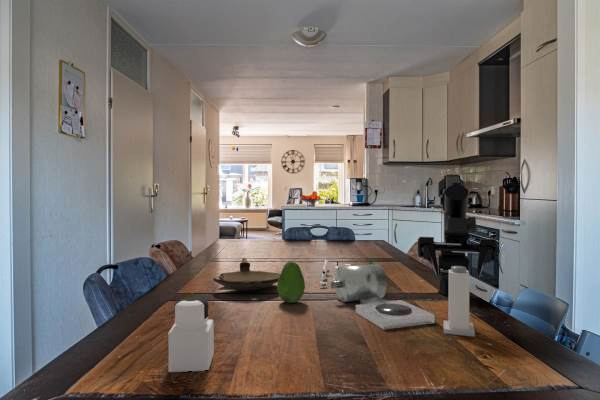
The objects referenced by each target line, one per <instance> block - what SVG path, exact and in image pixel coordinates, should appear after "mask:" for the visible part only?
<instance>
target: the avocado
mask: <svg viewBox="0 0 600 400" xmlns="http://www.w3.org/2000/svg"><path fill="white" fill-rule="evenodd" d="M280 271H281V272H280V273H279V274H280V276H279V279H278V282H276V283H277V285H276V286H277V287H276V291H277V295H278V296H279V298H280V299H281V300H282V301H283V302H284V303H287V304H294V303H297V302H299V300H300V299H302V297H303V295H304V293H305V289H306V284H305V278H304V274H303V272H302V269H301V268H300V266H299V265H298V263H296V262H294V261H291V260H290V261H287V262H286V263H284V265H283V267H282V269H281V270H280Z"/></svg>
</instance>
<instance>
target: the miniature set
mask: <svg viewBox="0 0 600 400" xmlns="http://www.w3.org/2000/svg"><path fill="white" fill-rule="evenodd" d="M329 263H330V262H329V260H328V259H327V260H326V259H324V260H323V266H322V268H323V270H321V275H320V278H321V279H320V281H319V285H320V286H323V285H324V286H328V284H329V283H328V282H326V281H324V277H326V275H327V271H326V270H327V267H328V266H327V265H328V264H329ZM333 266H334V267H335V269H337V268H338V267H339V262H338V261H336V263H335V262H333ZM346 266H352V265H351V263H349V264H348V263H345V264H344V267H346ZM333 281H334V278H333ZM333 281H332V282H333Z"/></svg>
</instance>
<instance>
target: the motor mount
mask: <svg viewBox="0 0 600 400" xmlns="http://www.w3.org/2000/svg"><path fill="white" fill-rule="evenodd" d="M333 279H334V281H330V288H331V289H332V290H335V294H336V297H337V298H338V300H339V301H340V302H341V303H345V302H347V303H348V302H357V301H359V303H360V304H355V314H357V315H359V316H360V317H362V318H364V319H366V320H367V321H369V322H370V323H372V324H374V326H377V327H379V328H380V329H381V330H383V331H385V330H390V329H391V330H392V329H400V328H405V327H406V328H408V327H414V326H421V325H428V324H430V325H431V324H435V314H434V313H431V312H429V311H427V310H425V309H422V308H421V307H418V306H416V305H414V304H411V303H409V302H407V301H404V300H402V299H401V300H400V299H398V300H390V301H389V300H386V299H385V298H384V296H385V295H386V292H387V287H388V286H387V285H388V284H387V276H386V273H385V271H384V269H383V268H382V266H381V265H379V264H376V263H375V264H364V265H363V264H362V265H351V266H346V267H345V266H338V268H336V270H335V271H334V277H333Z"/></svg>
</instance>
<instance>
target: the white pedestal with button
mask: <svg viewBox="0 0 600 400" xmlns="http://www.w3.org/2000/svg"><path fill="white" fill-rule="evenodd" d="M442 325H443V334H447V335H456V336H467V337H474V338H475V337H476V331H475V326H474V323H473V322H470V275H469V272H468V270H466V267H463V266H451V269H449V296H448V320H447V319H446V320H444V319H443V324H442Z"/></svg>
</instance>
